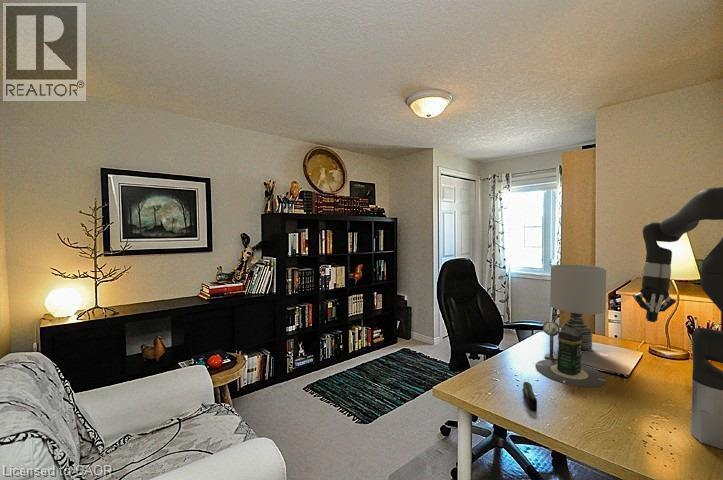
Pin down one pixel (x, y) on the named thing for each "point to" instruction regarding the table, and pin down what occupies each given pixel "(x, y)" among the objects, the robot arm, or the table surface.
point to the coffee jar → (569, 351)
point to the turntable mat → (583, 379)
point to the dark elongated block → (529, 396)
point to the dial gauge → (551, 337)
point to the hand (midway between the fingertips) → (651, 321)
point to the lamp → (578, 296)
